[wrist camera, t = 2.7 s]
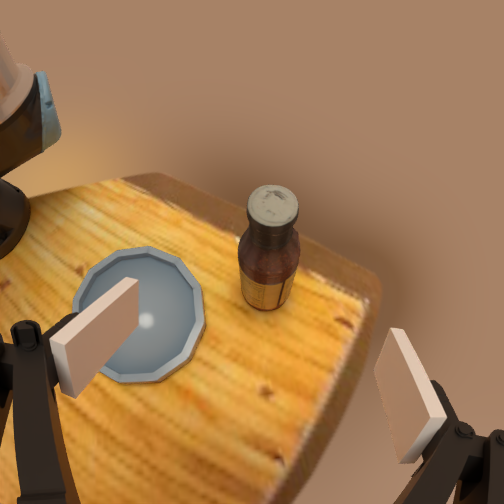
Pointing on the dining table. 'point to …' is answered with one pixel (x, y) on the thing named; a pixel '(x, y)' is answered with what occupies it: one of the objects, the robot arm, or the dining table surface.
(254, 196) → the sauce bottle
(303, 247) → the dining table surface
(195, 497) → the dining table surface
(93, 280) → the serving plate
